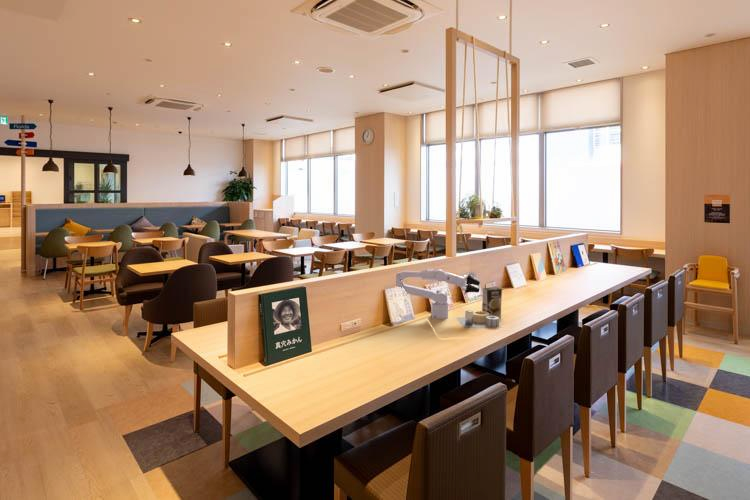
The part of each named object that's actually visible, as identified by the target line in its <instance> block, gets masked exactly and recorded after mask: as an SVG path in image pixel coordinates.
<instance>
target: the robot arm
mask: <svg viewBox="0 0 750 500" xmlns="http://www.w3.org/2000/svg"><path fill="white" fill-rule="evenodd" d="M400 278H401V279H400ZM406 278H420V279H422V280H429V281H435V280H437V282H445V283H446V284H447V283H448V284H449V285H453V286H456V287H459V288H461V291H463V292H464V293H465V294H467V293H479V292H480V288H479V287H477V286H480V283H481V282H480V281H479V280H478V279H476V278H474V277H473V276H472V275H470V274H463V276H461V275H459V274H454V273H451V272H448V271H444V270H443V269H440V268H437V269H436V268H434V269H428V268H427V267H426V268H424V269H423V268H422V270H421V271H417V270H404V271H401V272H398V274H396V286H398V287H401V288H402V287H403V288H404V289H405V291H406V292H407V294H408V295H412V296H416V297H421V298H424V299H425V298H426V299H430V300H431V301H433V302H434V303H431V304H430V316H431V318H432V320H433V319H439V320H440V319H441V320H442V319H443V320H445V319H448V317H449V303H448V293H447V291H446V290H444V289H439V290H437V289H436V290H435V289H428V288H424V287H419V286H415V285H410V284H406V283H405V281H404V280H405V279H406ZM401 280H403V281H404V282H403V281H402V282H401Z"/></svg>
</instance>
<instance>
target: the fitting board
mask: <svg viewBox="0 0 750 500" xmlns="http://www.w3.org/2000/svg"><path fill="white" fill-rule="evenodd" d="M472 311H473V325H466V324H465V316H464V317H462V316H461V317H456V319H457V320H458V322H459V323H460V324H461V325H462V327H463V328H464V329H494V328H495V329H497V328H501V329H502V328H504V327H503V326H502V325H501V324H500V316H499V317H498V316H497V315H493V316H490V313H488V312H485V311H482V310H472Z"/></svg>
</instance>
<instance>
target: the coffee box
mask: <svg viewBox="0 0 750 500" xmlns="http://www.w3.org/2000/svg"><path fill="white" fill-rule="evenodd" d="M502 292H503V289H502V288H499V287H497V286H495V287H493V286H492V287H483V288H482V300H481V301H482V305H481V311H485V312H488V313H490V316H497V317H499V318H500V317H501V316H502V300H503V299H502V296H503V295H502V294H503V293H502Z"/></svg>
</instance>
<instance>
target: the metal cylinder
mask: <svg viewBox="0 0 750 500" xmlns="http://www.w3.org/2000/svg"><path fill="white" fill-rule="evenodd" d="M473 311H474V310H465V316H464V317H465V324H466V325H473Z"/></svg>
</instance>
